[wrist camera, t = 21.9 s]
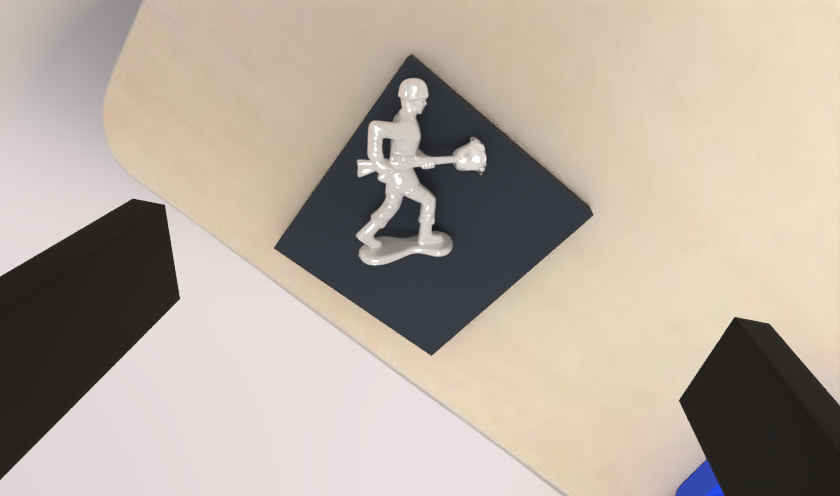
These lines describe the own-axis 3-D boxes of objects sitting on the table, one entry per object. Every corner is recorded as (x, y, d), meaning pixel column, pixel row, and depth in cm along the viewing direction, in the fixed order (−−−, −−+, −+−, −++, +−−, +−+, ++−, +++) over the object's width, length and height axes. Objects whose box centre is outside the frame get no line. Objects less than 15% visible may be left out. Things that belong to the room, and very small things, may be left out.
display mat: (280, 240, 38) (273, 248, 37) (411, 53, 30) (408, 56, 28) (433, 345, 42) (431, 356, 41) (589, 206, 33) (594, 215, 32)
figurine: (352, 242, 34) (325, 82, 27) (461, 216, 37) (462, 62, 30) (367, 278, 30) (342, 104, 23) (488, 247, 33) (497, 80, 26)
